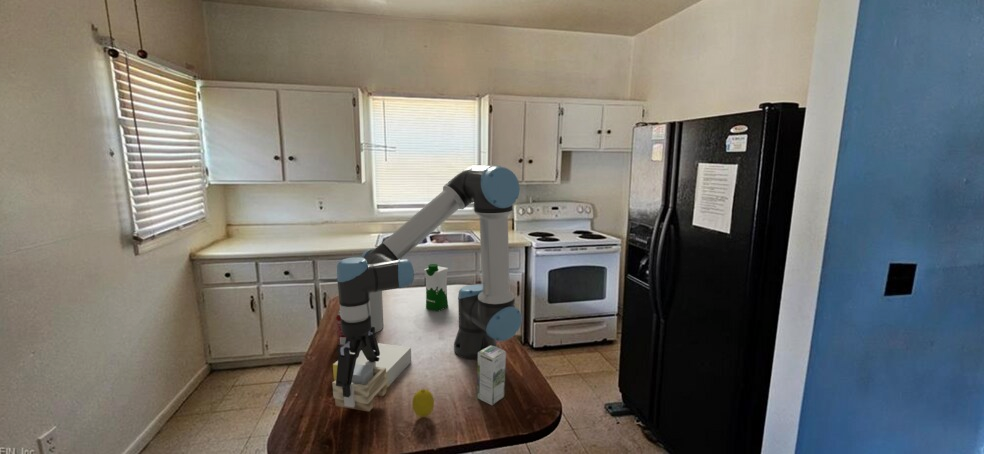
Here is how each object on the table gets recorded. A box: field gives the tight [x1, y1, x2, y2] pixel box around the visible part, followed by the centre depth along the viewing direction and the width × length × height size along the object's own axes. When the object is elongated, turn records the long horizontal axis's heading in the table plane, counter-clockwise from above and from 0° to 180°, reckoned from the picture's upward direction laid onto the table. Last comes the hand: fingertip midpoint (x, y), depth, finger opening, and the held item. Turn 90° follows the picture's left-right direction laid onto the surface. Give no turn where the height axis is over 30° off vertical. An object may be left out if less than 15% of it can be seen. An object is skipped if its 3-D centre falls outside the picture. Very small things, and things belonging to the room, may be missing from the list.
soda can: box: [335, 310, 346, 347], centre depth 151 cm, size 7×7×12 cm
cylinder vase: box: [369, 291, 385, 334], centre depth 162 cm, size 12×12×25 cm
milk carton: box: [423, 263, 449, 312], centre depth 185 cm, size 9×9×20 cm
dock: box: [332, 342, 412, 389], centre depth 133 cm, size 18×16×5 cm
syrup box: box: [476, 345, 507, 406], centre depth 118 cm, size 6×6×14 cm
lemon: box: [412, 388, 435, 418], centre depth 110 cm, size 6×6×8 cm
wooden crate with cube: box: [332, 364, 387, 412], centre depth 113 cm, size 10×10×7 cm
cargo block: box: [347, 364, 374, 385], centre depth 113 cm, size 5×5×4 cm
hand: (361, 394), depth 114 cm, fingers closed on wooden crate with cube, 10 cm apart
